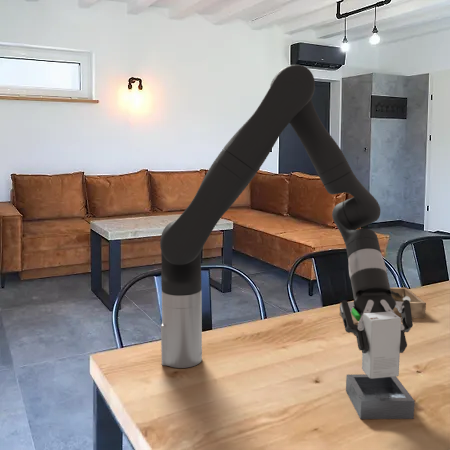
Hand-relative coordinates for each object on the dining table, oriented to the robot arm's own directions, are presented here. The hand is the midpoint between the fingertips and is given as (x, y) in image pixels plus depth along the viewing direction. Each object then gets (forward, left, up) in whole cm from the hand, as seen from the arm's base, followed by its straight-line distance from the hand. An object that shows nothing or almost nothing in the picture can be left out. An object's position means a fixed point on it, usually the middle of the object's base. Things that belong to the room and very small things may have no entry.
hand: (383, 351), depth 98 cm
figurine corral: (+23, +60, -12) cm, 65 cm away
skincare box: (0, +2, -6) cm, 6 cm away
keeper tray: (0, +2, -12) cm, 12 cm away
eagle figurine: (+22, +58, -12) cm, 63 cm away
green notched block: (+8, +47, -12) cm, 49 cm away
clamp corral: (+10, +47, -12) cm, 49 cm away
